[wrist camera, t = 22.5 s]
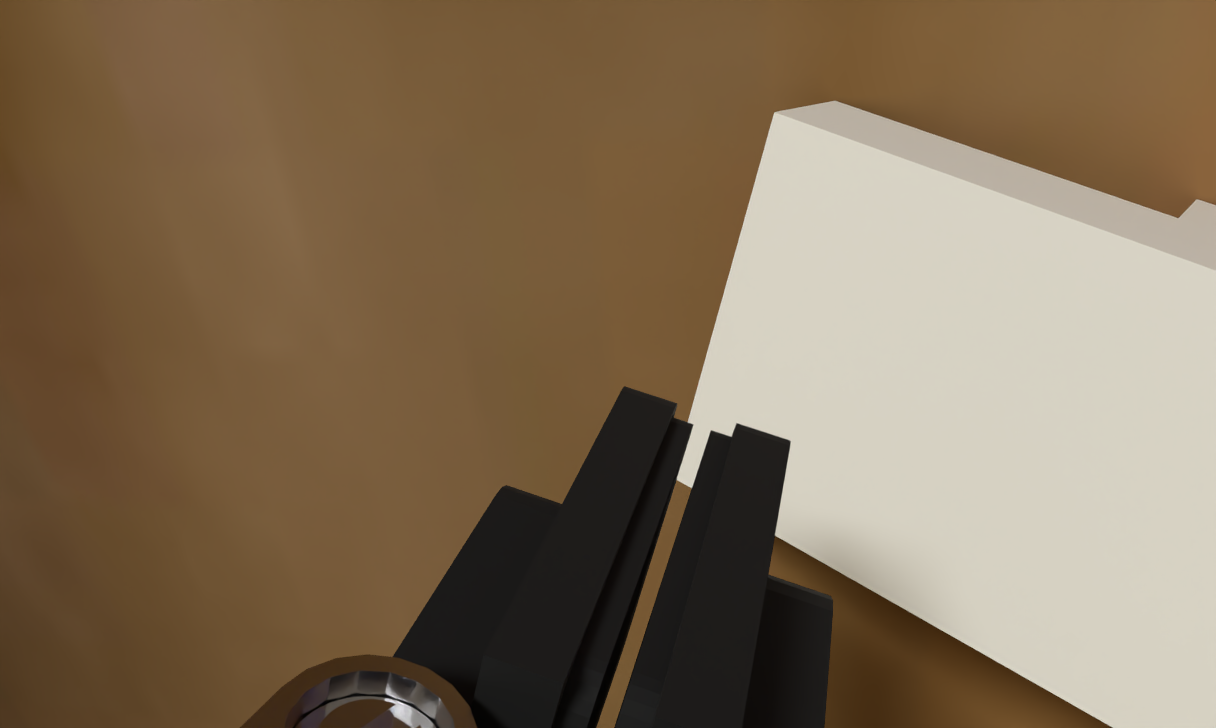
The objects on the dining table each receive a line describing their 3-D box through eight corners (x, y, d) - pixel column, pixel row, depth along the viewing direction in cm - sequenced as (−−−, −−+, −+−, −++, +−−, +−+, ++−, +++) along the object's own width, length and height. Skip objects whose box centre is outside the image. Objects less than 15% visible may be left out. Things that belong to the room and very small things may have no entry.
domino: (672, 477, 17) (1466, 928, 12) (774, 111, 14) (1862, 502, 9) (732, 436, 18) (1456, 820, 13) (835, 100, 16) (1793, 428, 11)
